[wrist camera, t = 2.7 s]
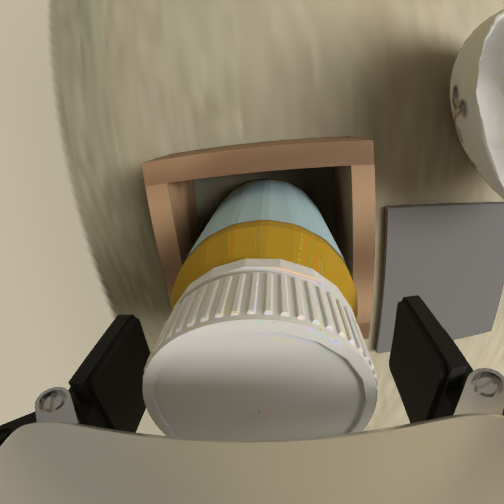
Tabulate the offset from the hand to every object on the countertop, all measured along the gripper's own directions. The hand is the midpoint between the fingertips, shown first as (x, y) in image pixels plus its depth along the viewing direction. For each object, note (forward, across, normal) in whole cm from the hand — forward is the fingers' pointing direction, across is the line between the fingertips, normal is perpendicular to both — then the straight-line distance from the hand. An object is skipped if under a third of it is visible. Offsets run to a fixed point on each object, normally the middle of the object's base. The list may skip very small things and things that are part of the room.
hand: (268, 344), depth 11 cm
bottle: (+12, 0, -1) cm, 12 cm away
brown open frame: (+11, 0, -1) cm, 11 cm away
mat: (+12, -14, +4) cm, 18 cm away
